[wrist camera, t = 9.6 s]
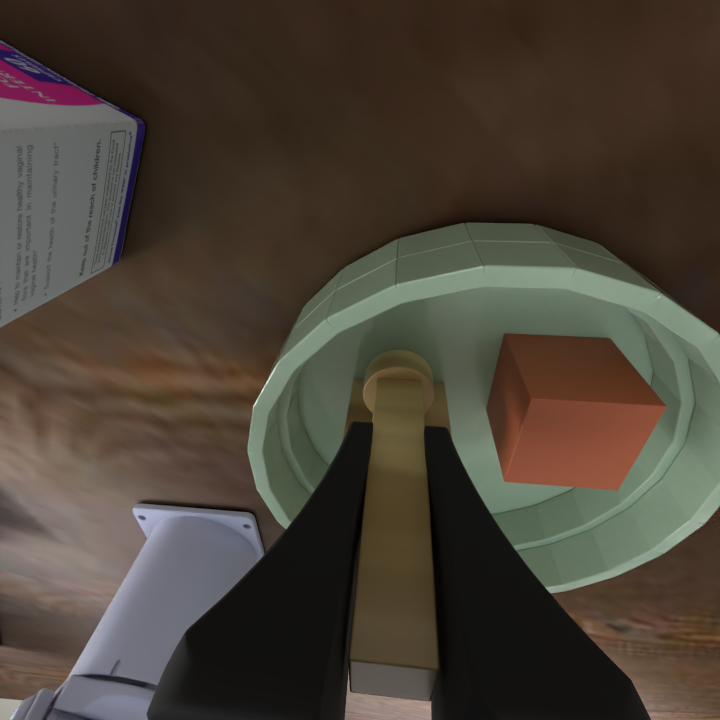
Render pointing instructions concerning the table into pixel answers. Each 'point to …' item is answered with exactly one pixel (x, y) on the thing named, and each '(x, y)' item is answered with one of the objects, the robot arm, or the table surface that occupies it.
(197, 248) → the table surface
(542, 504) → the bowl
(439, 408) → the maple block
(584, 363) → the rust block
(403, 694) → the muddler
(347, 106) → the table surface
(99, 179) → the supplement box
